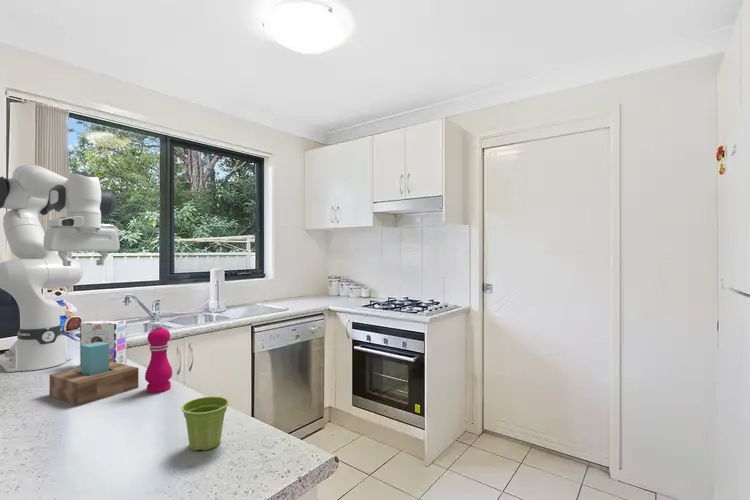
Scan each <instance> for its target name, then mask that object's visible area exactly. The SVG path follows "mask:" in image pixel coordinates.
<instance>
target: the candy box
mask: <svg viewBox="0 0 750 500" xmlns="http://www.w3.org/2000/svg"><path fill="white" fill-rule="evenodd" d="M79 336H80V337H79V340H80V342H79V345H80V347H79V349H80V351H79V352H80V353H79V355H80V357H79V358H80V361H79V362H80V363H79V364H80V365H79V366H80V367H79V368H81V345H86V344H91V343H96V342H103V343H109V361H111V362H115V363H120V364H124V365H127V320H89V321H84V322H80V323H79Z"/></svg>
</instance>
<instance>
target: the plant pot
mask: <svg viewBox="0 0 750 500" xmlns="http://www.w3.org/2000/svg"><path fill="white" fill-rule="evenodd" d="M229 403H230V401H229V399H228V398H226V397H223V396H218V395H217V396H216V395H215V396H211V395H210V396H202V397H198V398H194V399H191V400H189V401H187V402H185V403H184V404H183V405H182V406H181V409H180V410H181V412H182V413H183V416H184V419H185V423H186V428H187V437H188V438H187V439H188V444H189V445H188V447H189V449H191V450H192V451H199V450H202V451H208V450H210V449H213V448H216V447H217V446H219V444H220V442H221V440H222V432H223V426H224V419H225V414H226V412H227V407H228V406H229Z"/></svg>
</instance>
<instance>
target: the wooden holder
mask: <svg viewBox="0 0 750 500" xmlns="http://www.w3.org/2000/svg"><path fill="white" fill-rule="evenodd" d="M138 388H139V367H136V366H131V365H127V364H126V365H124V364H120V363H115V362H111V361H109V371H108V372H104V373H100V374H96V375H92V376H85V375H82V374H81V368H80V367H77V368H74V369H68V370H65V371H61V372H60V371H59V372H56V373H51V374H49V389H48V391H49V393H48V394H49V396H50V397H52V398H56V399H58V400H61V401H64V402H66V403H70V404H72V405H75V406H78V407H79V406H83V405H86V404H89V403H90V404H91V403H93V402H96V401H100V400H102V399H106V398H110V397H113V396H117V395H119V394H122V393H125V392H129V391H132V390H134V389H138Z"/></svg>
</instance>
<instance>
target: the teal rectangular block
mask: <svg viewBox="0 0 750 500" xmlns="http://www.w3.org/2000/svg"><path fill="white" fill-rule="evenodd" d="M108 371H109V343H103V342H96V343H91V344H86V345H81V374H82V375H85V376H92V375H96V374H100V373H104V372H108Z"/></svg>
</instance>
